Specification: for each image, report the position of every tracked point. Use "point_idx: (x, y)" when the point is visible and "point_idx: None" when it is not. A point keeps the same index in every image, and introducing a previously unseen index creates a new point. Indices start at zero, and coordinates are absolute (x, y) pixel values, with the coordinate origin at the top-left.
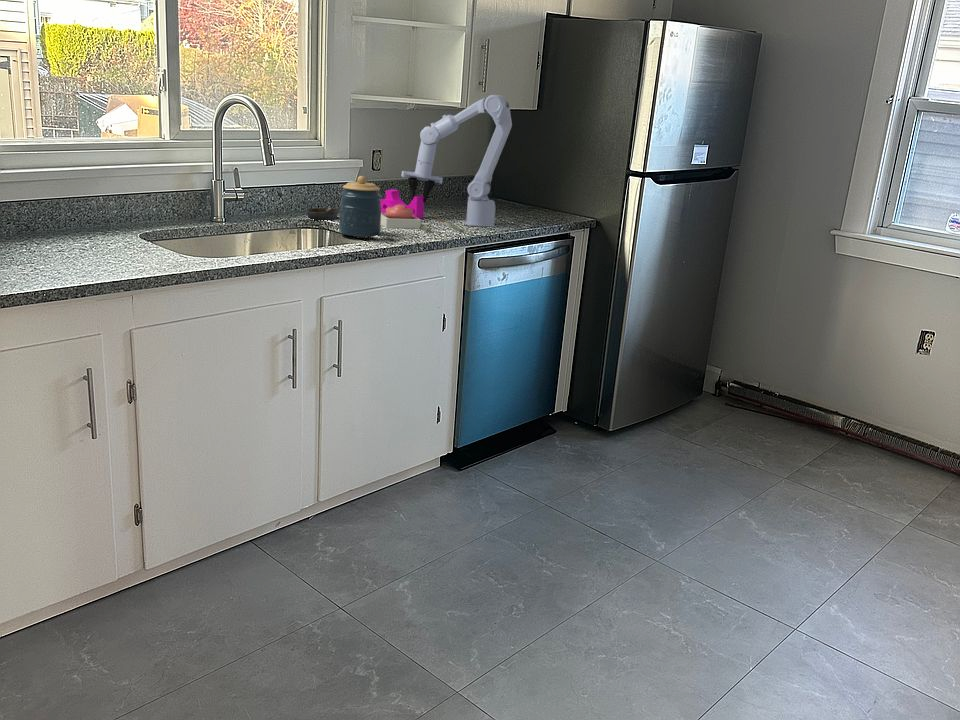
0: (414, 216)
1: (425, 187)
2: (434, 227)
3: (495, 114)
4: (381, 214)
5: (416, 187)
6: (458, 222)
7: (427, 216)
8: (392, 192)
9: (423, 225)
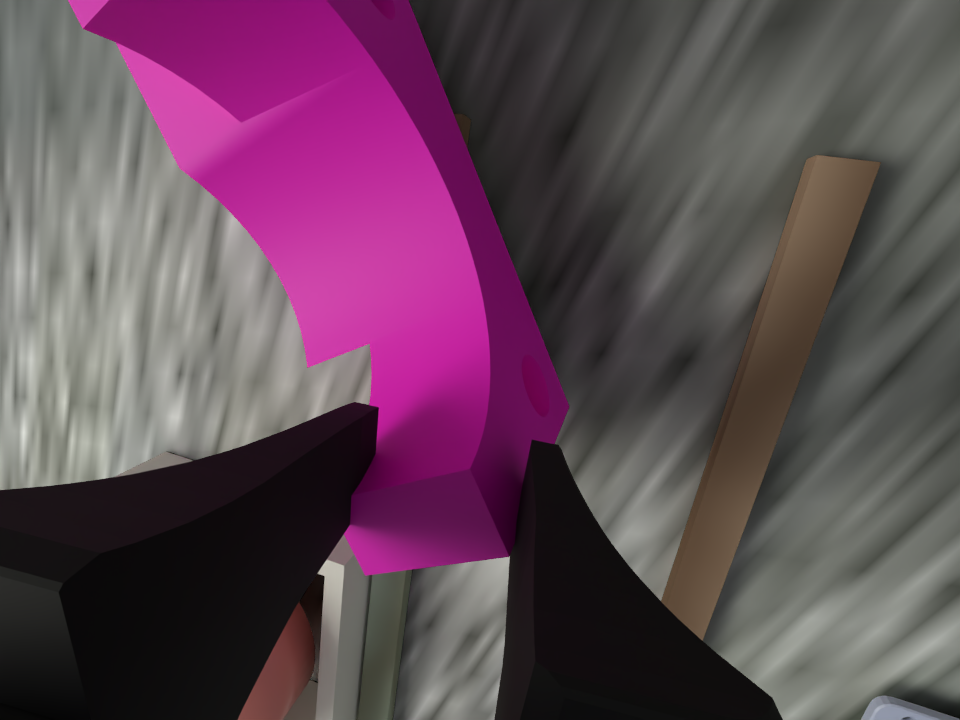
0: (332, 657)
1: (515, 648)
2: (485, 706)
3: None
4: None
5: (252, 685)
6: (931, 570)
7: (816, 100)
8: (120, 20)
9: (385, 714)
